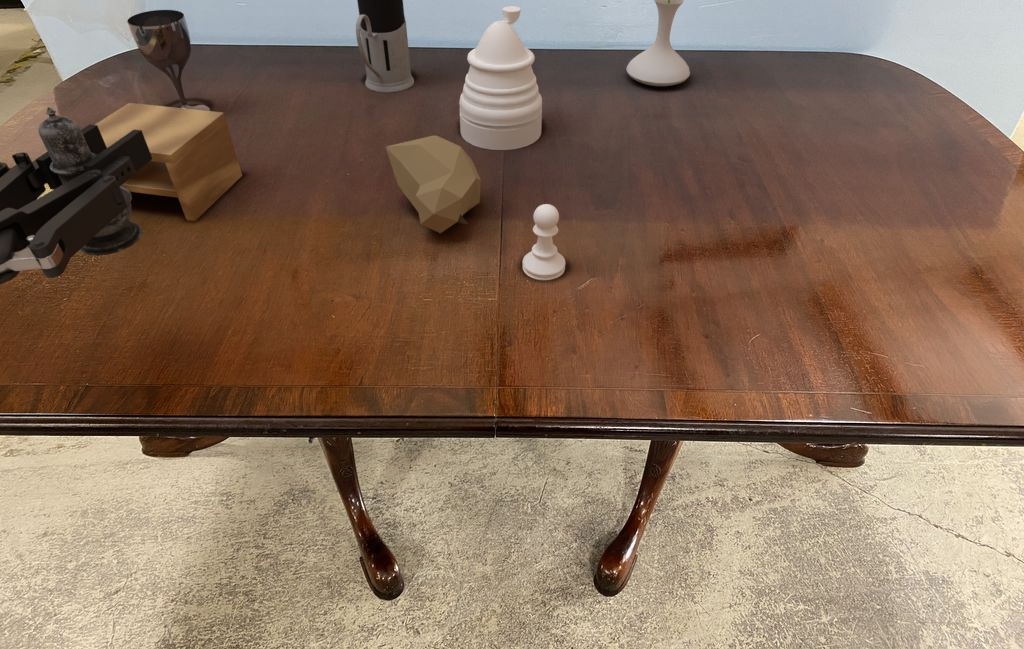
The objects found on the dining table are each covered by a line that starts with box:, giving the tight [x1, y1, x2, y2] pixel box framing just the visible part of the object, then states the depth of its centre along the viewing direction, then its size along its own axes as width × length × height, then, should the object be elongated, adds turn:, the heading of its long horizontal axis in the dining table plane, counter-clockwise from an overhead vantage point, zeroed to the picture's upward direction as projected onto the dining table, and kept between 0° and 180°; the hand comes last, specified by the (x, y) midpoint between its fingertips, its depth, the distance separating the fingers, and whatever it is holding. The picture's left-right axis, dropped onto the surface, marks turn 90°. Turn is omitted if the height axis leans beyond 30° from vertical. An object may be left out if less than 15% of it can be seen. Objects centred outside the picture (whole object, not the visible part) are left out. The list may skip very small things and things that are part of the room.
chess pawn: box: [521, 203, 567, 281], centre depth 75 cm, size 5×5×9 cm
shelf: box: [94, 102, 243, 222], centre depth 87 cm, size 14×12×10 cm
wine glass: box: [126, 9, 211, 111], centre depth 105 cm, size 8×8×15 cm
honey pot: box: [458, 5, 543, 151], centre depth 100 cm, size 13×13×18 cm
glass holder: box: [355, 0, 415, 93], centre depth 113 cm, size 9×14×15 cm, turn 166°
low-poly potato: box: [385, 134, 482, 234], centre depth 84 cm, size 15×11×12 cm
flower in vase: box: [625, 0, 691, 87], centre depth 113 cm, size 13×11×25 cm
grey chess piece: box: [38, 106, 144, 257], centre depth 55 cm, size 6×6×12 cm
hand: (120, 142), depth 59 cm, fingers closed on grey chess piece, 4 cm apart
